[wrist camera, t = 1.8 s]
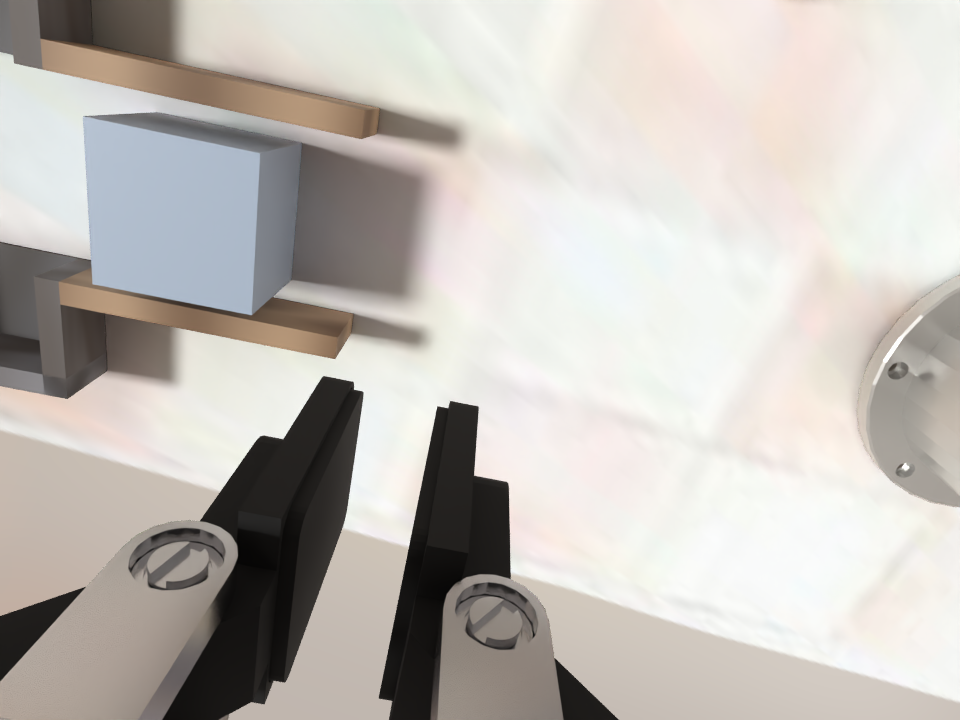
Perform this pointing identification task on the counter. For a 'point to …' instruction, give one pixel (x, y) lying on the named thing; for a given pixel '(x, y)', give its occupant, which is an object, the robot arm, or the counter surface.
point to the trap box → (68, 280)
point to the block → (190, 209)
